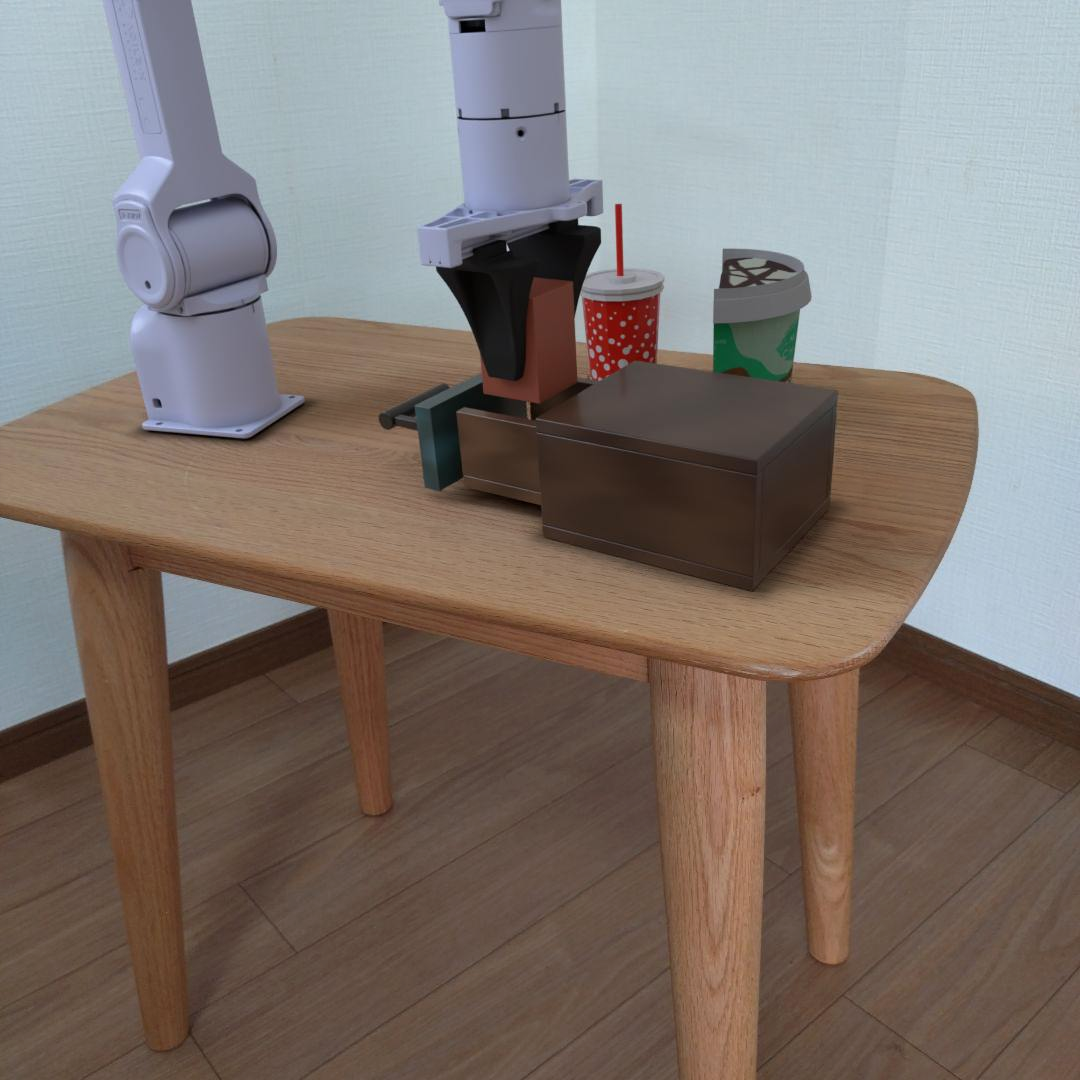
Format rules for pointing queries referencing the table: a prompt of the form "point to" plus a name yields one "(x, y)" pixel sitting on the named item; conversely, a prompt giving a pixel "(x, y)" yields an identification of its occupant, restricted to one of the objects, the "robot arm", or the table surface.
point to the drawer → (477, 437)
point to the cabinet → (688, 469)
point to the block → (543, 346)
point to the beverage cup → (620, 313)
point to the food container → (758, 313)
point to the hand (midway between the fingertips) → (528, 365)
